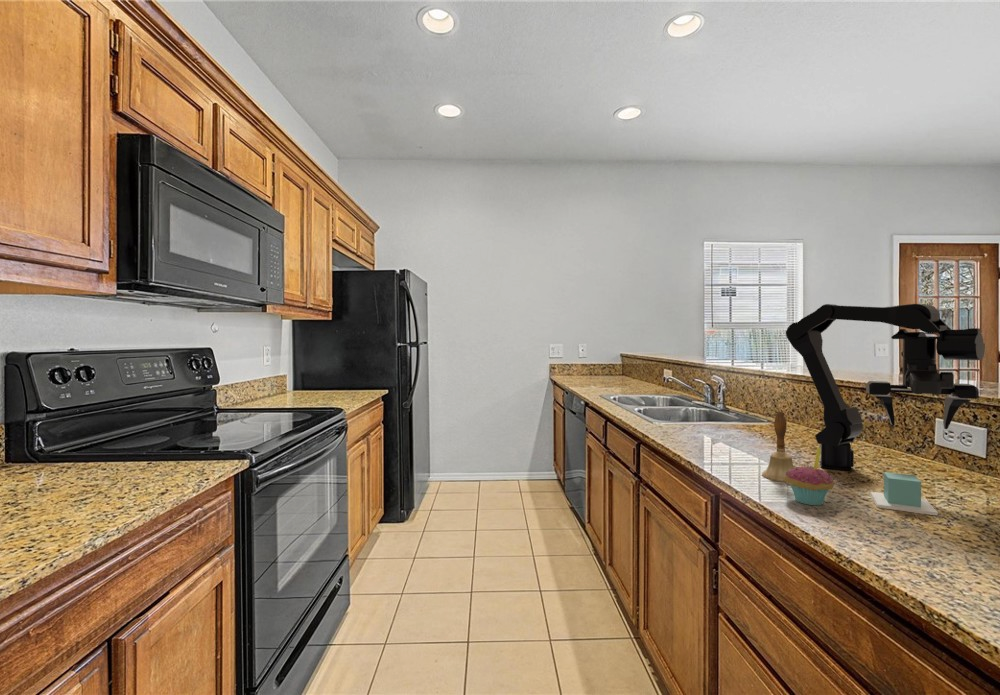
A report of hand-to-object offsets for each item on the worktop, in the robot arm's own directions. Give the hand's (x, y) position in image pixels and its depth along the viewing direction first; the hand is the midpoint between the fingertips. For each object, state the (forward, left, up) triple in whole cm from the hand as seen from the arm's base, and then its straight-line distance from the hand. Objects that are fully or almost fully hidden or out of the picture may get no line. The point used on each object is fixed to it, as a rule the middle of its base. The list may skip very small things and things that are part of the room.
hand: (918, 427), depth 109 cm
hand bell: (-27, -9, -13) cm, 31 cm away
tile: (-6, -19, -13) cm, 24 cm away
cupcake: (-22, -26, -13) cm, 37 cm away
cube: (-6, -19, -12) cm, 23 cm away
